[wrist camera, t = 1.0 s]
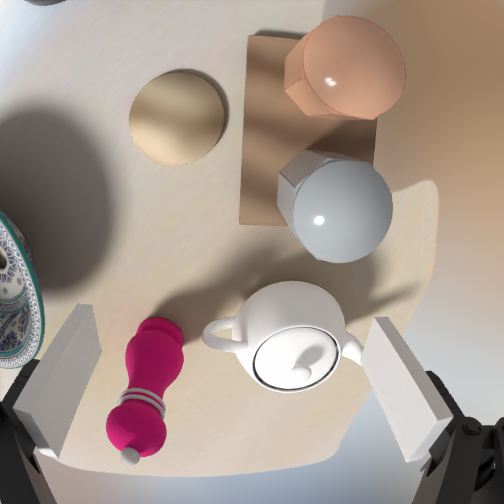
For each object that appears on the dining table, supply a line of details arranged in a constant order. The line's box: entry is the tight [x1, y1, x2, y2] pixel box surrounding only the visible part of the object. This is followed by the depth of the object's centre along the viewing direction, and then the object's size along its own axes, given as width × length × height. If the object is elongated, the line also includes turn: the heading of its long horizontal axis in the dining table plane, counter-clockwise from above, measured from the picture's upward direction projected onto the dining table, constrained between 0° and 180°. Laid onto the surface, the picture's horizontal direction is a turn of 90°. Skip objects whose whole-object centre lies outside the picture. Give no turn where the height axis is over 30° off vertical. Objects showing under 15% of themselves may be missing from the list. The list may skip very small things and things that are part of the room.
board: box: [239, 35, 377, 226], centre depth 32 cm, size 20×14×2 cm
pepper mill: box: [106, 317, 184, 465], centre depth 32 cm, size 7×7×20 cm
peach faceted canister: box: [284, 15, 406, 120], centre depth 25 cm, size 8×8×9 cm
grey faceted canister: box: [277, 150, 393, 263], centre depth 29 cm, size 8×8×9 cm
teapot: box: [202, 281, 364, 393], centre depth 36 cm, size 22×14×11 cm, turn 76°
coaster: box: [129, 72, 224, 166], centre depth 31 cm, size 10×10×1 cm
